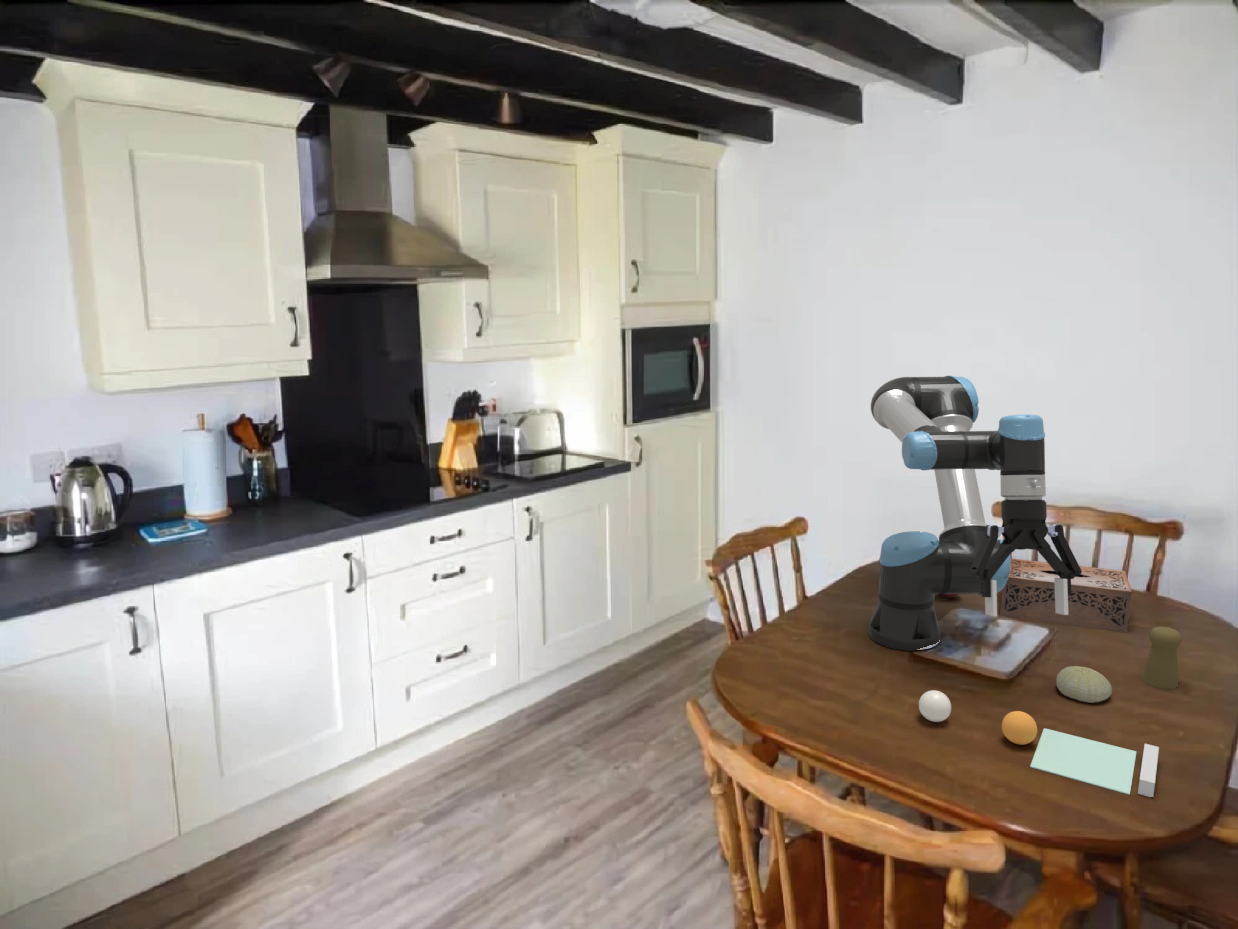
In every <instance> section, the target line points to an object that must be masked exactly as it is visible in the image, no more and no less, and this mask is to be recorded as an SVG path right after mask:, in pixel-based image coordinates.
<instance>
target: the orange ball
mask: <svg viewBox="0 0 1238 929" xmlns="http://www.w3.org/2000/svg"><path fill="white" fill-rule="evenodd" d="M1001 730H1002V733H1003V735H1004V736H1005V738H1007V740H1008V741H1010V742H1011V743H1013V744H1016V745H1027V744H1030V743H1031V742H1033V741H1034V740H1035V739H1036V737H1037V734H1038V726H1037V722H1036V721H1035V719H1034V718H1033V717H1032V716H1031V715H1030V714H1028V713H1027V712H1024V711H1020V710H1015V711H1014V710H1013V711H1011V712H1009V713H1007V714H1006V715H1004V717H1003V719H1002V721H1001Z"/></svg>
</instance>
